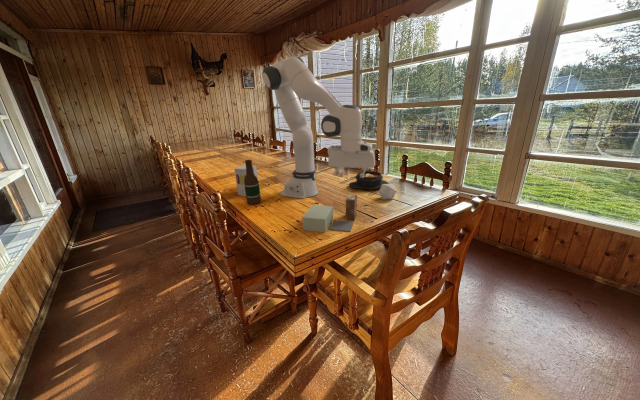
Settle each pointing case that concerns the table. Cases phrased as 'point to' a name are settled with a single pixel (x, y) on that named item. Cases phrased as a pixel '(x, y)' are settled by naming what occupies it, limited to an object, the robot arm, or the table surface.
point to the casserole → (368, 180)
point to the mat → (341, 226)
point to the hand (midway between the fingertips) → (351, 177)
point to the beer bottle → (251, 185)
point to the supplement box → (242, 178)
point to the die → (387, 191)
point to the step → (318, 218)
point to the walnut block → (351, 207)
